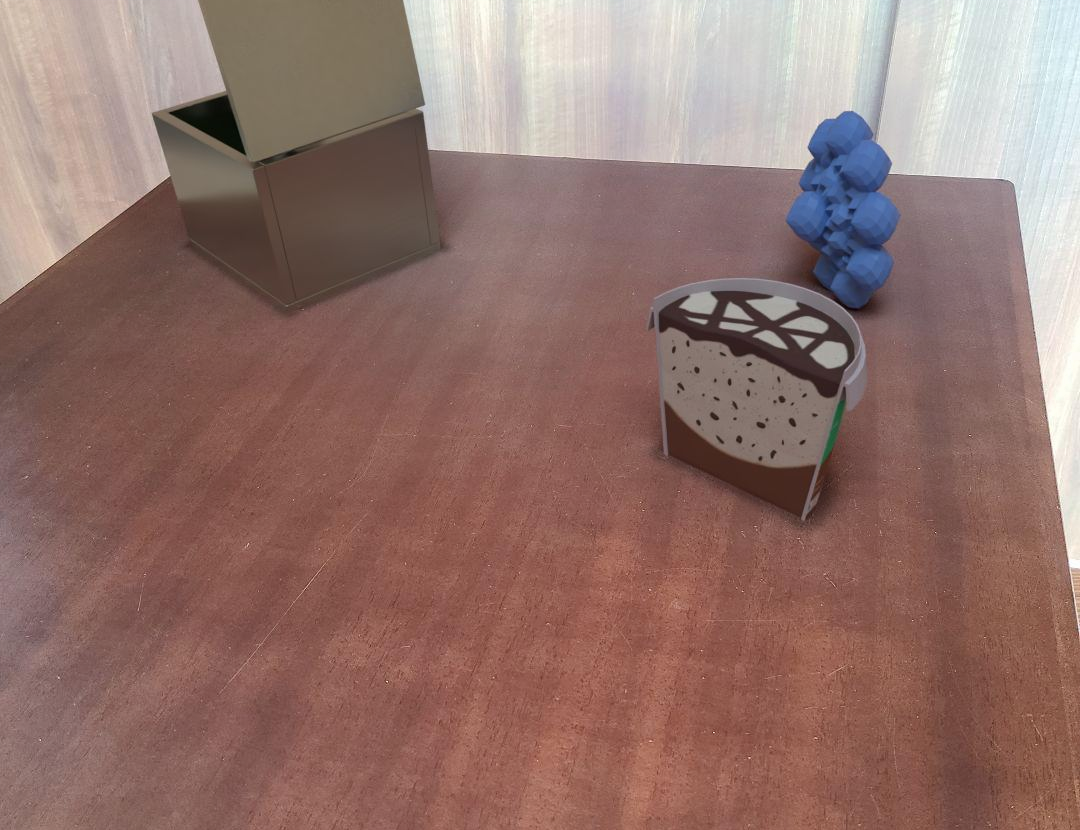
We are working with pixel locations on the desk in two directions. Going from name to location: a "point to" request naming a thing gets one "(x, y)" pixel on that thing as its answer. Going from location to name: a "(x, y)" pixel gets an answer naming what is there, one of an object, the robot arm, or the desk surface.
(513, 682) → the desk surface
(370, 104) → the bin lid
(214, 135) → the bin
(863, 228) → the grapes
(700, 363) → the food container
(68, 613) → the desk surface
